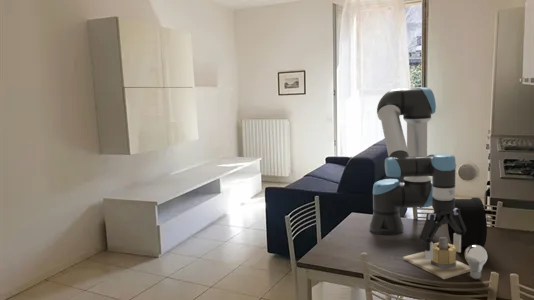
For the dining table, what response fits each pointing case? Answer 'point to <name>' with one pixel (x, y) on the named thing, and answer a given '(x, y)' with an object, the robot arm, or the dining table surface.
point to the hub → (444, 254)
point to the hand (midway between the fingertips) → (443, 255)
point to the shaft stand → (435, 268)
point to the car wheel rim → (471, 222)
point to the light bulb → (475, 259)
